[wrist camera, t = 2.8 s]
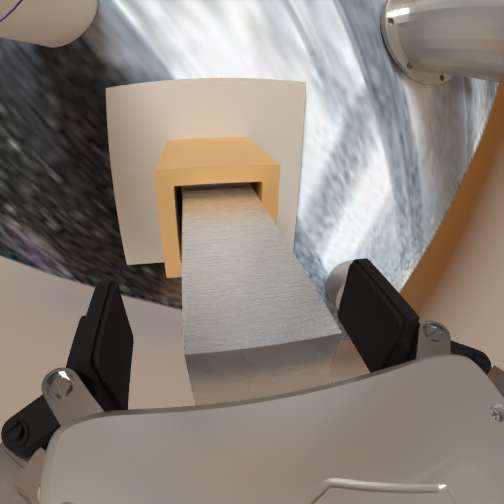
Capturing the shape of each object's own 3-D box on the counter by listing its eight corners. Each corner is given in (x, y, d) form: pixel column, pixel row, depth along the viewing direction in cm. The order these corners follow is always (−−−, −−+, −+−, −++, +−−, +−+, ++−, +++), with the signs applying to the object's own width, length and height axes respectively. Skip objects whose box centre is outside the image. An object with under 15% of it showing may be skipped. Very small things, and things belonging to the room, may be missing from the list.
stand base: (301, 82, 25) (379, 83, 14) (289, 246, 34) (336, 324, 23) (109, 88, 22) (49, 88, 11) (128, 259, 31) (107, 348, 20)
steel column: (231, 151, 26) (348, 327, 7) (231, 196, 28) (318, 410, 9) (183, 154, 25) (177, 350, 7) (185, 199, 27) (197, 429, 9)
